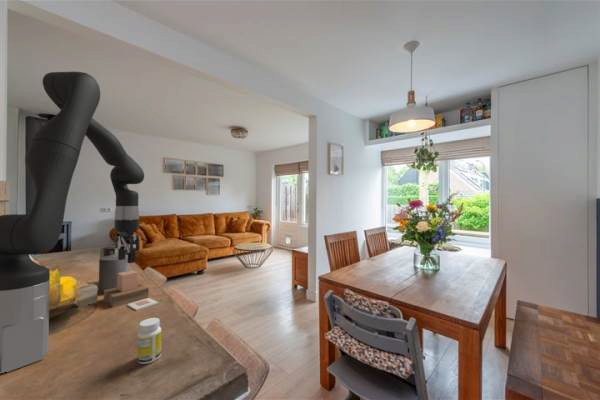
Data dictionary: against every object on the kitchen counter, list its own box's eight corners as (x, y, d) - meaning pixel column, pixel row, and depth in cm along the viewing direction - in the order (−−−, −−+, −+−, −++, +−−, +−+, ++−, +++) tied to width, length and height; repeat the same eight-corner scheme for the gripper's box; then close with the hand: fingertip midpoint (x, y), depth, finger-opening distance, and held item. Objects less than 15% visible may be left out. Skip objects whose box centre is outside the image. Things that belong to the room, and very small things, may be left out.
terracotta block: (137, 288, 92) (137, 272, 92) (122, 292, 88) (122, 275, 88) (132, 285, 95) (132, 270, 95) (117, 289, 91) (117, 273, 91)
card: (158, 303, 87) (158, 301, 87) (136, 310, 81) (136, 308, 81) (148, 299, 91) (148, 297, 91) (127, 305, 85) (127, 303, 85)
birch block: (97, 302, 88) (97, 286, 88) (78, 307, 83) (79, 290, 84) (92, 299, 90) (92, 283, 91) (74, 304, 86) (74, 287, 86)
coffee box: (128, 280, 112) (128, 246, 113) (114, 285, 106) (114, 248, 107) (113, 279, 115) (113, 245, 115) (98, 283, 109) (99, 247, 109)
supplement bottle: (156, 349, 60) (157, 314, 60) (164, 357, 57) (165, 320, 57) (134, 359, 56) (134, 322, 56) (141, 367, 53) (141, 329, 53)
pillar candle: (92, 292, 97) (93, 255, 98) (117, 284, 107) (117, 250, 107) (109, 295, 94) (110, 257, 95) (133, 287, 104) (134, 252, 104)
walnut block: (148, 298, 92) (148, 288, 92) (113, 308, 84) (113, 297, 84) (137, 292, 99) (137, 282, 99) (103, 300, 90) (103, 290, 90)
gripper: (107, 218, 93) (107, 260, 92) (123, 219, 85) (122, 266, 84) (130, 217, 99) (129, 257, 99) (146, 218, 91) (146, 261, 91)
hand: (126, 261), depth 91 cm, fingers open, 8 cm apart
